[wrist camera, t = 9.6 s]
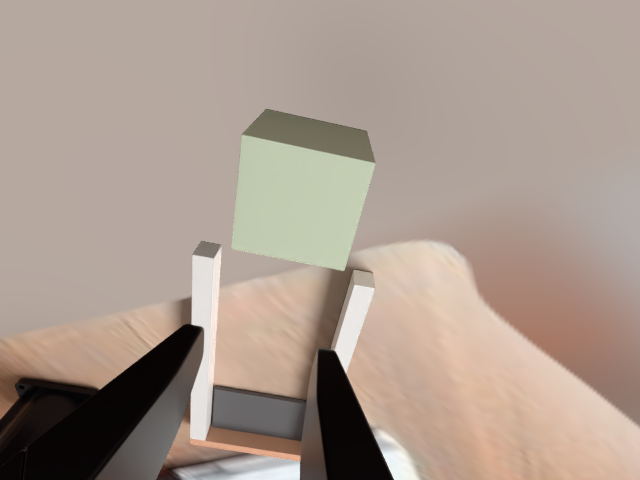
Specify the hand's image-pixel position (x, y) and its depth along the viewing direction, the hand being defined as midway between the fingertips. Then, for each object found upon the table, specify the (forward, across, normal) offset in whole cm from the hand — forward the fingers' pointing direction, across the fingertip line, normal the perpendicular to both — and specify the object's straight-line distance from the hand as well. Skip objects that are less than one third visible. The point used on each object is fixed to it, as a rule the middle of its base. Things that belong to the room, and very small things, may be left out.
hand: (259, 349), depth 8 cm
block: (+12, 0, 0) cm, 12 cm away
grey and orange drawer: (+12, 0, +21) cm, 24 cm away
